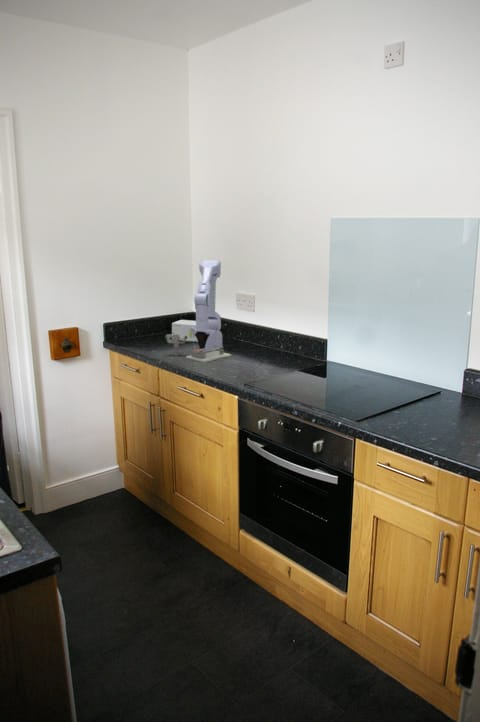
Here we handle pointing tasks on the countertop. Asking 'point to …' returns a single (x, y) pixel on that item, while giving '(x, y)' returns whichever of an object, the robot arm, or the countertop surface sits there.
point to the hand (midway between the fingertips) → (202, 348)
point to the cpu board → (208, 355)
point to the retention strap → (207, 349)
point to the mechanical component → (175, 341)
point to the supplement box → (184, 329)
